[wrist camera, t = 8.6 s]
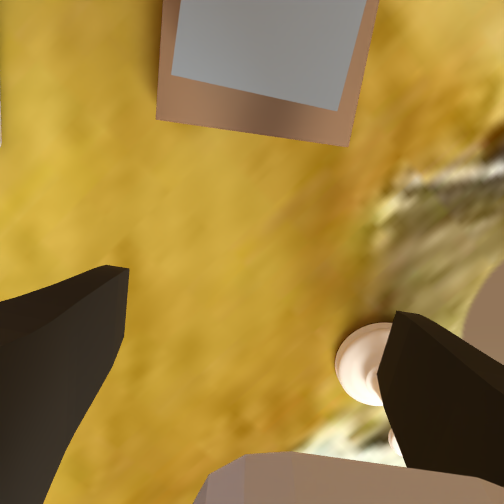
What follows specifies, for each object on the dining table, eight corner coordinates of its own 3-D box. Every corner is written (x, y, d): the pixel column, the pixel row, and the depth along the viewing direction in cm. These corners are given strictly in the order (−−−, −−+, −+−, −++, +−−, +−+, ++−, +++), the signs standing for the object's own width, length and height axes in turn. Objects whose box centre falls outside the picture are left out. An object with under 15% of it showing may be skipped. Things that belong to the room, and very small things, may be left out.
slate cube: (194, 76, 18) (170, 74, 13) (216, -72, 16) (198, -134, 11) (317, 103, 18) (337, 111, 13) (352, -39, 16) (389, -87, 12)
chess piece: (404, 306, 23) (503, 455, 14) (439, 376, 25) (549, 553, 16) (319, 346, 24) (358, 511, 15) (357, 411, 26) (415, 598, 16)
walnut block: (167, 115, 21) (155, 119, 18) (181, -93, 18) (170, -119, 16) (338, 140, 21) (348, 147, 19) (378, -61, 18) (396, -82, 16)
